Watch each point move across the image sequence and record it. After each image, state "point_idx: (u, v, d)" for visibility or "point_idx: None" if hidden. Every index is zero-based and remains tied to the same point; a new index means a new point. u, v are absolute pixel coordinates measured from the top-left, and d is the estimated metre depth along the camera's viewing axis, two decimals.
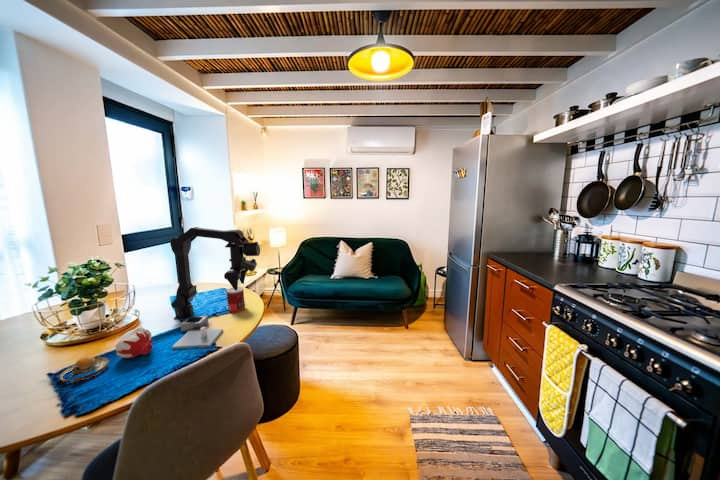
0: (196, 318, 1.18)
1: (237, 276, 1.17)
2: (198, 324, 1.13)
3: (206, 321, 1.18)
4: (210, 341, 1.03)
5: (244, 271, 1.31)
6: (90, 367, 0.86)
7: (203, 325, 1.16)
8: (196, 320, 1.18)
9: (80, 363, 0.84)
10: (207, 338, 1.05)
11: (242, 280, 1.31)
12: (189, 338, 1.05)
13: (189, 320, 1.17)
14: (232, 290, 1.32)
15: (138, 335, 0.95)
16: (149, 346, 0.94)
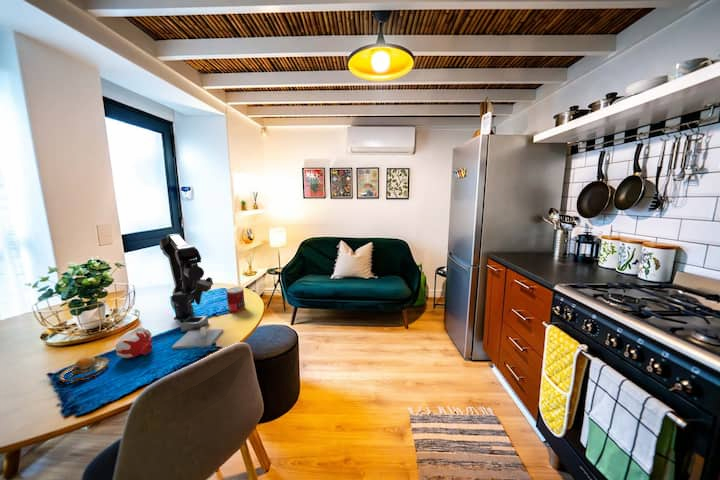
0: (196, 318, 1.18)
1: (186, 299, 1.05)
2: (198, 324, 1.13)
3: (206, 321, 1.18)
4: (210, 341, 1.03)
5: (200, 290, 1.19)
6: (90, 367, 0.86)
7: (203, 325, 1.16)
8: (196, 320, 1.18)
9: (81, 363, 0.84)
10: (207, 338, 1.05)
11: (198, 300, 1.19)
12: (189, 338, 1.05)
13: (189, 320, 1.17)
14: (232, 290, 1.32)
15: (138, 335, 0.95)
16: (149, 346, 0.94)
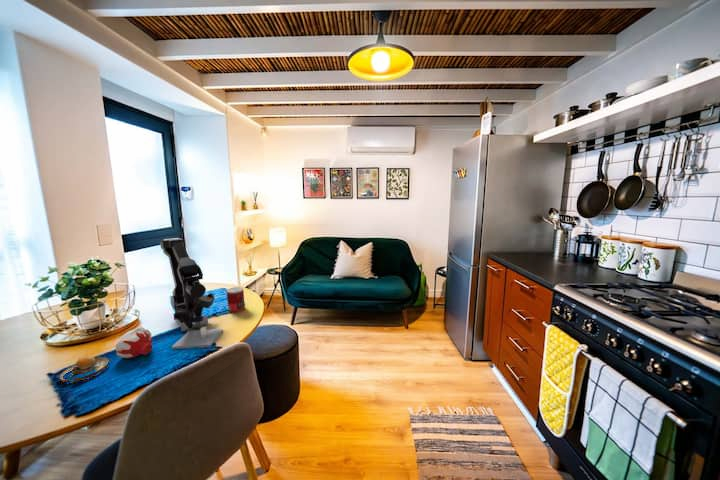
0: (196, 318, 1.18)
1: (188, 316, 1.06)
2: (198, 324, 1.13)
3: (206, 321, 1.18)
4: (210, 341, 1.03)
5: (200, 307, 1.19)
6: (90, 367, 0.86)
7: (203, 325, 1.16)
8: (196, 320, 1.18)
9: (81, 363, 0.84)
10: (207, 338, 1.05)
11: None
12: (189, 338, 1.05)
13: None
14: (232, 290, 1.32)
15: (138, 335, 0.95)
16: (149, 346, 0.94)
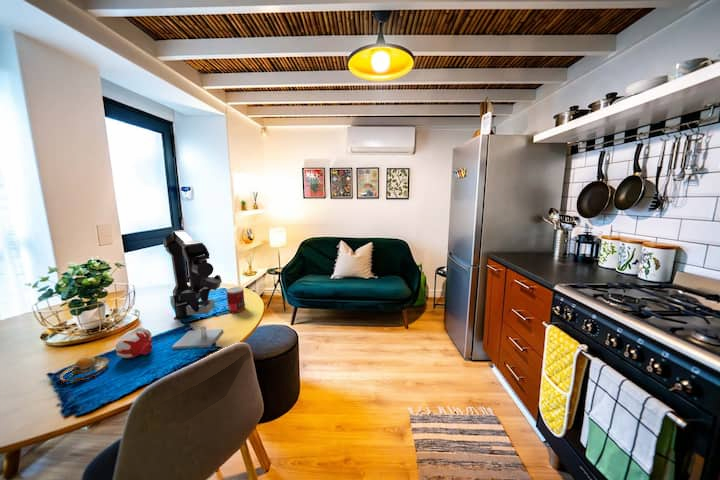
0: (202, 302, 1.11)
1: (194, 297, 0.99)
2: (205, 307, 1.06)
3: (213, 305, 1.11)
4: (210, 341, 1.03)
5: (207, 290, 1.12)
6: (90, 367, 0.86)
7: (210, 309, 1.09)
8: (202, 304, 1.11)
9: (80, 363, 0.84)
10: (207, 338, 1.05)
11: None
12: (189, 338, 1.05)
13: None
14: (232, 290, 1.32)
15: (138, 335, 0.95)
16: (149, 346, 0.94)
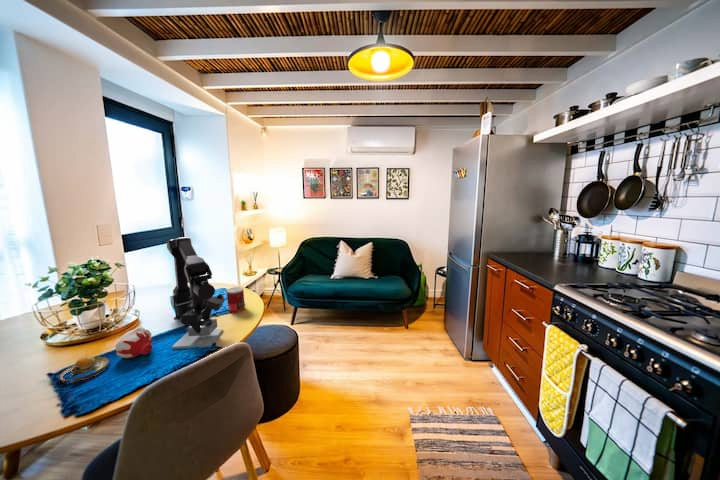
0: (204, 321, 1.07)
1: (196, 320, 0.96)
2: (207, 328, 1.02)
3: (215, 324, 1.08)
4: (210, 341, 1.03)
5: (209, 309, 1.09)
6: (90, 367, 0.86)
7: (212, 329, 1.05)
8: (204, 324, 1.08)
9: (80, 363, 0.84)
10: (207, 338, 1.05)
11: None
12: (189, 338, 1.05)
13: None
14: (232, 290, 1.32)
15: (138, 335, 0.95)
16: (149, 346, 0.94)
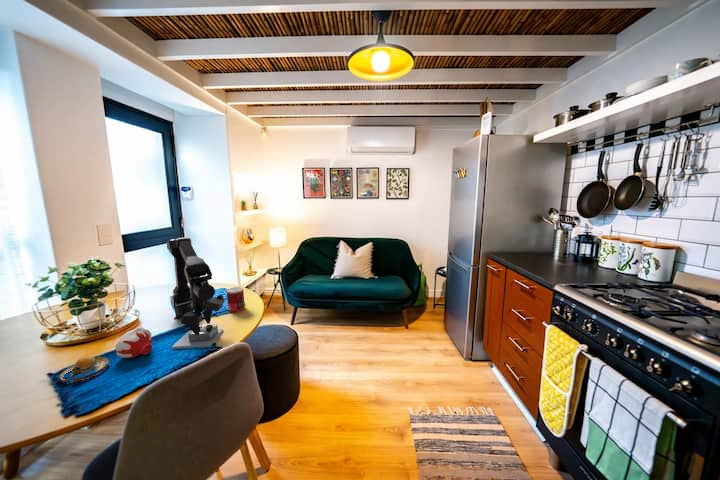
0: None
1: (196, 320, 0.96)
2: (207, 334, 1.03)
3: (216, 330, 1.08)
4: (210, 341, 1.03)
5: (210, 309, 1.10)
6: (90, 367, 0.86)
7: (213, 335, 1.06)
8: None
9: (80, 363, 0.84)
10: None
11: (208, 319, 1.10)
12: None
13: None
14: (232, 290, 1.32)
15: (138, 335, 0.95)
16: (149, 346, 0.94)
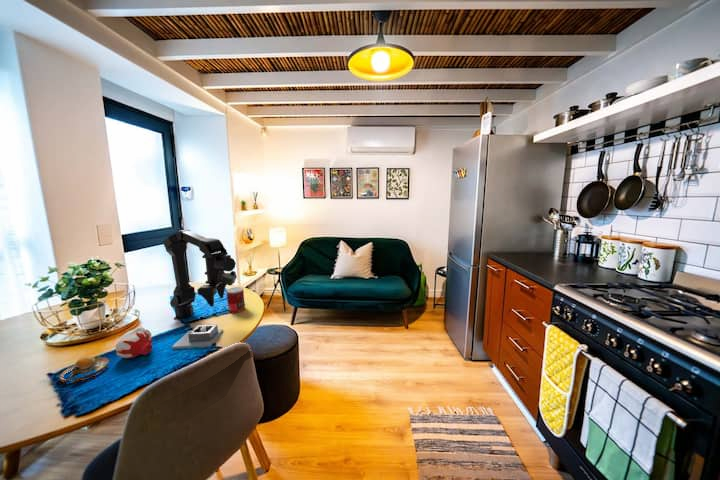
0: None
1: (212, 292, 1.05)
2: (207, 334, 1.03)
3: (216, 330, 1.08)
4: (210, 341, 1.03)
5: (223, 284, 1.19)
6: (90, 367, 0.86)
7: (213, 335, 1.06)
8: None
9: (80, 363, 0.84)
10: None
11: (221, 294, 1.19)
12: None
13: (197, 329, 1.07)
14: (232, 290, 1.32)
15: (138, 335, 0.95)
16: (149, 346, 0.94)
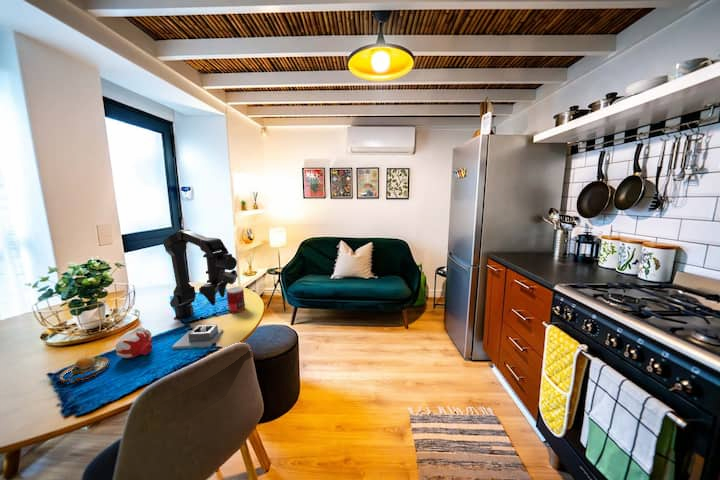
0: None
1: (213, 290, 1.05)
2: (207, 334, 1.03)
3: (216, 330, 1.08)
4: (210, 341, 1.03)
5: (224, 283, 1.19)
6: (90, 367, 0.86)
7: (213, 335, 1.06)
8: None
9: (80, 363, 0.84)
10: None
11: (222, 293, 1.19)
12: None
13: (197, 329, 1.07)
14: (232, 290, 1.32)
15: (138, 335, 0.95)
16: (149, 346, 0.94)
